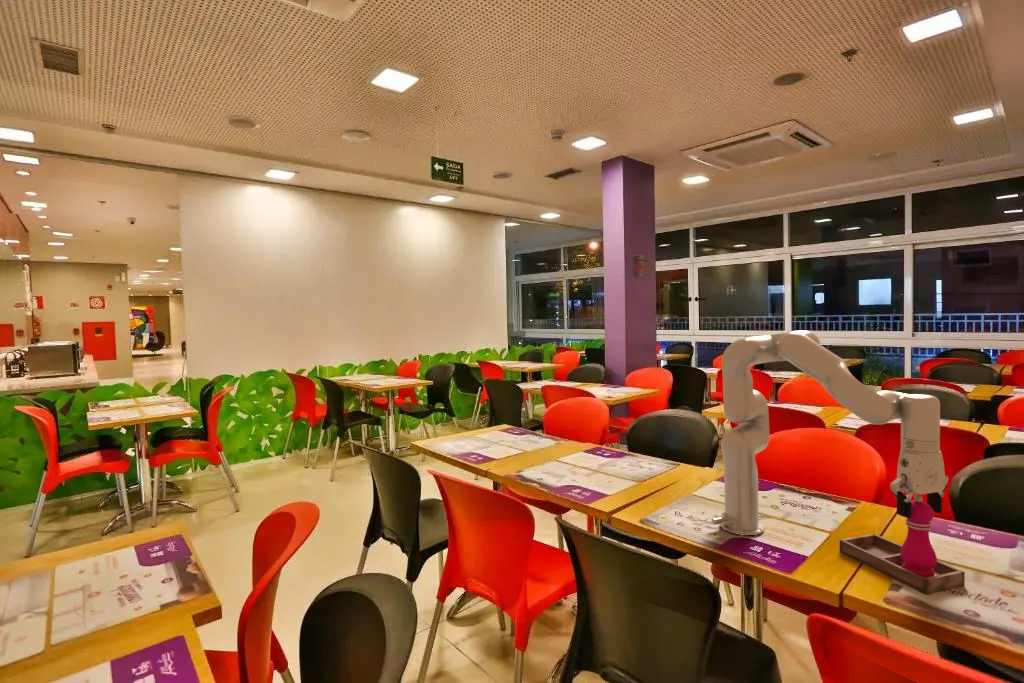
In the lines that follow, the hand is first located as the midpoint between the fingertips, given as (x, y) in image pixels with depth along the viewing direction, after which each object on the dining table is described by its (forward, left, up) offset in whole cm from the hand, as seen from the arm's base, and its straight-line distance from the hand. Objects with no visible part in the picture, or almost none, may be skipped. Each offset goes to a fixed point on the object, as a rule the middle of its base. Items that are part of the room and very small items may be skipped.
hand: (919, 513), depth 129 cm
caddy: (0, +6, -16) cm, 17 cm away
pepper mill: (0, 0, -16) cm, 16 cm away
